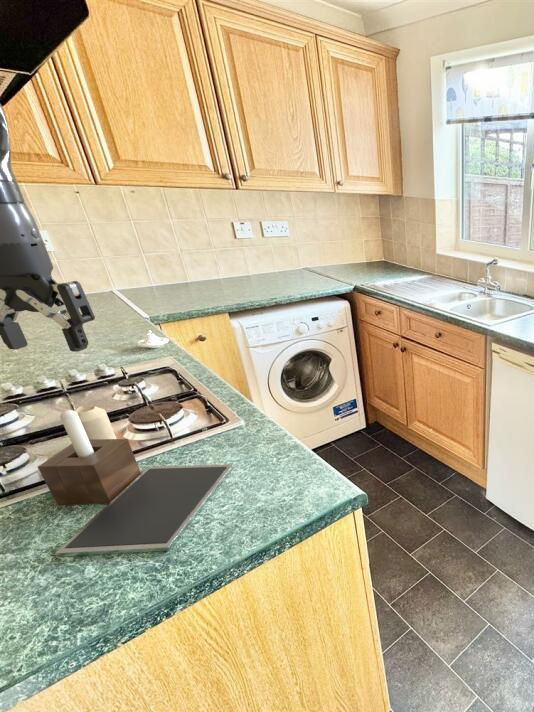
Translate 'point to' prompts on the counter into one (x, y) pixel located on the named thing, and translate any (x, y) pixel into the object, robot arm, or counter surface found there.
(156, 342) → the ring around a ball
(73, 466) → the stand
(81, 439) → the white rod
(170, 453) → the counter surface
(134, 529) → the tablet
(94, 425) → the candle
